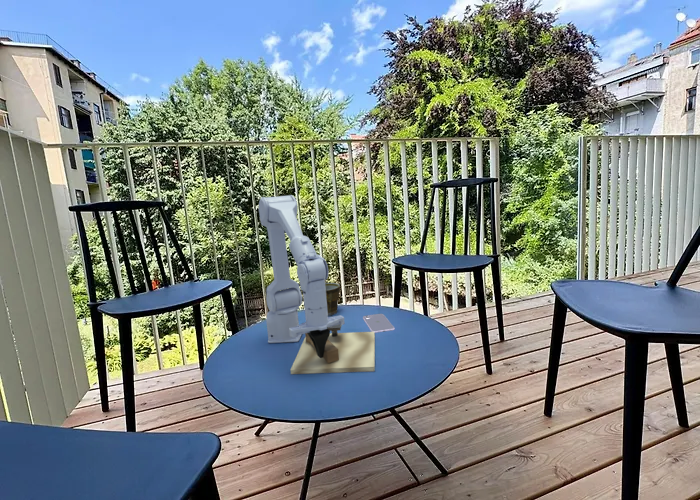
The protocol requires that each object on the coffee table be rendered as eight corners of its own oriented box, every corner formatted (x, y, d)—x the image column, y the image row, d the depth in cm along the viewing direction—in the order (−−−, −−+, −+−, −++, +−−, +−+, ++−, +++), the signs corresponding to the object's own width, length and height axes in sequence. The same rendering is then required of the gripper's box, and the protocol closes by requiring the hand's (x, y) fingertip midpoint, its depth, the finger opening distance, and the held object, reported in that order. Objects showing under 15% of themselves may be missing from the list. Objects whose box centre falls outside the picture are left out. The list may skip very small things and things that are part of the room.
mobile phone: (372, 331, 114) (361, 315, 129) (372, 334, 115) (362, 318, 129) (395, 327, 116) (382, 312, 130) (395, 330, 116) (383, 315, 130)
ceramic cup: (316, 308, 141) (314, 283, 140) (342, 307, 141) (340, 281, 139) (312, 321, 129) (309, 293, 127) (340, 319, 128) (338, 291, 126)
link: (303, 339, 110) (302, 329, 110) (317, 335, 112) (316, 326, 111) (325, 363, 94) (324, 352, 93) (341, 359, 96) (340, 348, 95)
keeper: (307, 343, 107) (306, 328, 106) (311, 335, 113) (310, 320, 113) (341, 342, 107) (340, 326, 106) (343, 333, 113) (342, 318, 112)
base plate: (290, 374, 93) (290, 369, 93) (306, 338, 115) (306, 334, 114) (374, 371, 91) (374, 366, 91) (374, 335, 113) (374, 331, 113)
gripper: (294, 316, 87) (299, 370, 89) (348, 303, 94) (352, 354, 96) (284, 309, 93) (289, 359, 95) (336, 297, 100) (340, 344, 102)
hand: (320, 356), depth 96 cm, fingers closed
